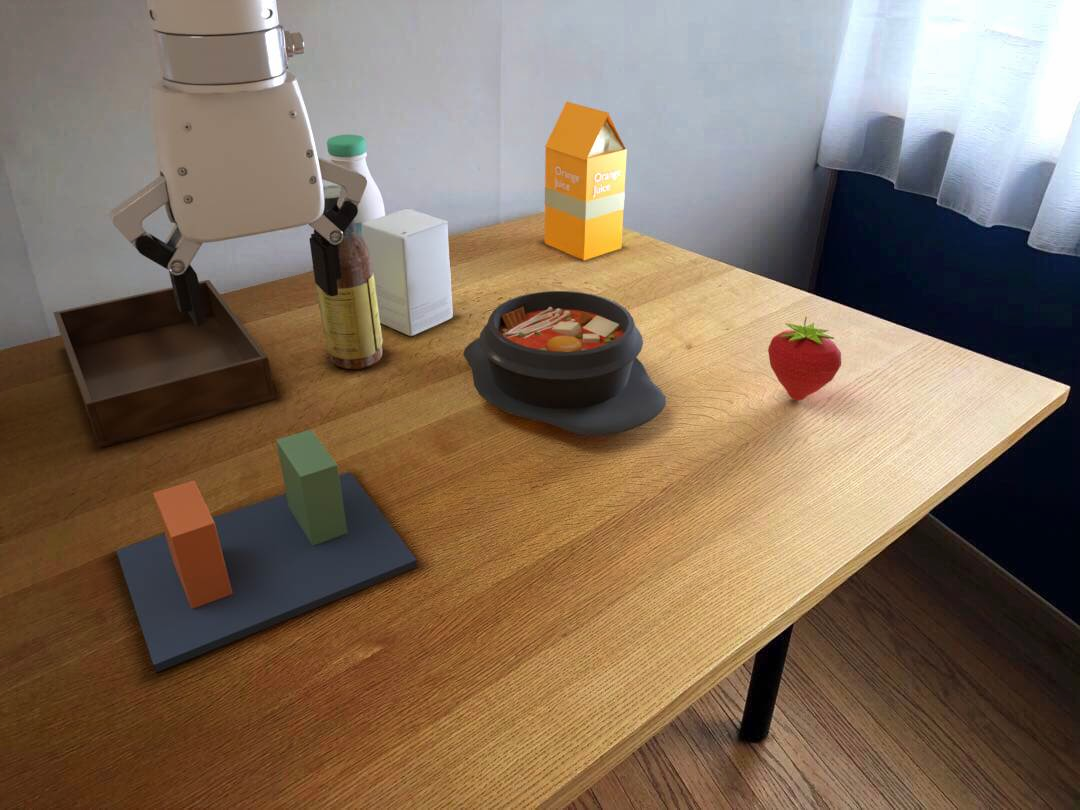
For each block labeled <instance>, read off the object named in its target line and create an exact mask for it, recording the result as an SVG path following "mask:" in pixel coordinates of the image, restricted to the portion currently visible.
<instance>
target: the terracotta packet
mask: <svg viewBox="0 0 1080 810" xmlns="http://www.w3.org/2000/svg"><path fill="white" fill-rule="evenodd" d="M153 498H154V501H155V505H156V508H157V512H158V515H159V519H160V522H161V525H162V528H163V531H164V534H165V536H166V539H167V542H168V546H169V549H170V553H171V556H172V559H173V563H174V565H175V568H176V570H177V573H178V575H179V578H180V580H181V583H182V585H183V588H184V591H185V593H186V596H187V598H188V601H189V603H190V606H191V608H192V609H194V608H197V607H200V606H202V605H205V604H207V603H210V602H213V601H215V600H218V599H221V598H223V597H226V596H229V595H231V594H232V590H231V586H230V582H229V578H228V574H227V570H226V566H225V562H224V558H223V554H222V550H221V546H220V542H219V538H218V534H217V530H216V526H215V523H214V520H213V517H212V515H211V512H210V511H209V508H208V506H207V504H206V502H205V500H204V497H203V496H202V494H201V491H200V490H199V488H198V486H197V483H196V481H195V480H191V481H187V482H184V483H181V484H177V485H174V486H171V487H168V488H165V489H161V490H158V491H154V492H153Z"/></svg>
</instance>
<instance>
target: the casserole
mask: <svg viewBox="0 0 1080 810" xmlns="http://www.w3.org/2000/svg"><path fill="white" fill-rule="evenodd" d="M486 323H487V324H485V325H484V326H483V328H482V330H481V331H480V333H479V337H478V338H476V339H473V340H472V341H471V342H470V343H469V344H468V345H466V346H465V347H464V351H463V353H462V355H463V357H464V359H465V360H466V362H467V363H468V365H469V367H470V369H471V375H472V381H473V387H474V388H475V389H476V391H477V393H478V395H479V396H481V398H483V399H484V400H485V401H486V402H487V403H488V404H490V405H492V406H494V407H495V408H497V409H499V410H501V411H503V412H506V413H507V414H510V415H513V416H516V417H520V418H525V419H529V420H533V421H537V422H541V423H545V424H549V425H551V426H554V427H556V428H559V429H562V430H563V431H566V432H570V433H573V434H575V435H579V436H586V437H602V436H611V435H616V434H620V433H625V432H628V431H630V430H634V429H636V428H638V427H642V426H644V425H645V424H647V423H649V422H650V421H652V420H654V419H655V418H657V416H659V414H662V412H663V411H664V408H665V407H666V405H667V397H666V395H665V394H664V393H663V391H662V390H661V389H660V387H658V386H657V385H656V384H655V382H653V381H652V380H651V378H650V377H651V376H650V375H649V374H648V371H647V370H646V367H645V366H644V364H643V362H642V361H640V359H639V358H637V357H638V356H639V354H640V353H641V352H642V349H643V346H644V341H643V340H644V339H643V335H642V334H641V332H640V330H639V328H638V327H636V323H635V320H634V318H633V316H632V314H631V313H630V312H629V311H628V310H627V309H626V308H625V307H624V306H622V305H621V304H619V303H617V302H616V301H614V300H611V299H609V298H607V297H603V296H599V295H597V294H592V293H587V292H580V291H572V290H546V291H538V292H532V293H526V294H523V295H519V296H516V297H513V298H511V299H508V300H506V301H504V302H503V303H501V304H499V305H498V306H497V307H495V308H494V309H493V310H492V312H491V314H490V315H489V317H488V320H487V322H486Z"/></svg>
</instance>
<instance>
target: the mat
mask: <svg viewBox="0 0 1080 810" xmlns="http://www.w3.org/2000/svg"><path fill="white" fill-rule="evenodd" d="M339 480H340V487H341V493H342V500H343V507H344V514H345V520H346V527H347V534H344V535H341V536H339V537H336V538H333V539H330V540H328V541H325V542H322V543H320V544H317V545H314V546H312V544H311V542H310V541H309V539H308V538H307V536H306V534H305V533H304V531H303V529H302V528H301V526H300V525H299V523H298V521H297V520H296V518H295V516H294V515H293V513H292V511H291V510H290V508H289V506H288V501H287V496H286V492H285V493H282V494H279V495H276V496H274V497H270V498H267V499H265V500H262V501H261V500H260V501H258V502H256V503H253V504H249V505H246V506H244V507H240V508H238V509H235V510H232V511H229V512H226V513H223V514H220V515H216V516H214V517H212V518H213V520H214V523H215V526H216V530H217V534H218V538H219V542H220V546H221V550H222V554H223V558H224V562H225V566H226V570H227V574H228V578H229V582H230V586H231V590H232V594H231V595H229V596H226V597H223V598H221V599H218V600H215V601H213V602H210V603H207V604H205V605H202V606H200V607H197V608H194V609H192V608H191V606H190V603H189V601H188V598H187V596H186V593H185V591H184V588H183V585H182V583H181V580H180V578H179V575H178V573H177V570H176V568H175V565H174V563H173V559H172V556H171V553H170V549H169V546H168V542H167V539H166V536H165V533H163V534H160V535H156V536H154V537H151V538H148V539H145V540H142V541H138V542H136V543H133V544H130V545H127V546H124V547H121V548H118V549H116V550H115V551H116V554H117V558H118V560H119V564H120V566H121V570H122V573H123V576H124V579H125V583H126V585H127V588H128V591H129V595H130V598H131V600H132V603H133V607H134V610H135V613H136V616H137V619H138V622H139V625H140V629H141V632H142V635H143V637H144V641H145V644H146V647H147V650H148V653H149V656H150V659H151V662H152V666H153V668H154V671H155V672H156V673H158V672H159V673H160V672H161V671H163V670H167V669H169V668H171V667H174V666H176V665H178V664H181V663H184V662H186V661H189V660H191V659H194V658H196V657H198V656H201V655H204V654H206V653H208V652H210V651H213V650H216V649H218V648H221V647H224V646H226V645H228V644H230V643H233V642H235V641H238V640H241V639H243V638H245V637H248V636H250V635H253V634H255V633H258V632H260V631H262V630H266V629H268V628H271V627H272V626H275V625H278V624H281V623H282V622H286V621H288V620H290V619H292V618H295V617H297V616H300V615H302V614H304V613H305V614H306V613H308V612H310V611H312V610H315V609H317V608H321V607H322V606H325V605H327V604H330V603H332V602H335V601H337V600H340V599H342V598H344V597H347V596H350V595H351V594H355V593H357V592H359V591H361V590H365V589H367V588H369V587H372V586H374V585H376V584H379V583H382V582H384V581H387V580H389V579H392V578H393V577H394V578H395V577H396V576H400V575H401V574H403V573H407V572H408V571H412V570H414V569H416V568H418V562H417V561H418V560H417V558H416V557H415V556H414V554H413V553H412V552H411V550H410V549H409V548H408V546H407V545H406V544H405V542H404V541H403V540H402V538H401V537H400V535H398V533H397V532H396V531H395V529H394V528H393V527H392V525H391V523H389V521H388V520H387V519H386V517H385V516H384V515H383V513H382V512H381V510H380V509H379V508H378V507H377V505H376V504H375V503H374V501H373V500H372V499H371V498H370V496H369V495H368V493H367V492H366V491H365V489H364V488H363V486H362V485H361V484H360V483H359V481H358V480H357V479H356V477H355V476H354V475H353V473H352V472H351V471H348V472H344V473H342V474H339Z"/></svg>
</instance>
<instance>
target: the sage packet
mask: <svg viewBox="0 0 1080 810" xmlns="http://www.w3.org/2000/svg"><path fill="white" fill-rule="evenodd" d="M275 442H276V449H277V454H278V459H279V463H280V468H281V474H282V479H283V484H284V485H283V486H284V490H285V493H286V496H287V501H288V506H289V508H290V510H291V511H292V513H293V515H294V516H295V518H296V520H297V521H298V523H299V525H300V526H301V528H302V529H303V531H304V533H305V534H306V536H307V538H308V539H309V541H310V542H311V544H312V546H314V545H317V544H320V543H322V542H325V541H328V540H330V539H333V538H336V537H339V536H341V535H344V534H347V527H346V520H345V514H344V507H343V500H342V493H341V487H340V480H339V475H340V474H339V467H338V464H337V462H336V461H335V460H334V458H333V457H332V456H331V454H330V453H329V451H327V449H326V447H325V446H324V445H323V444H322V442H321V441H320V439H319V438H318V437H317V436H316V434H315V433H314V431H313V430H312V429H308V430H304V431H299V432H298V433H294V434H291V435H287V436H285V437H281V438H277V439H276V440H275Z"/></svg>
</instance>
